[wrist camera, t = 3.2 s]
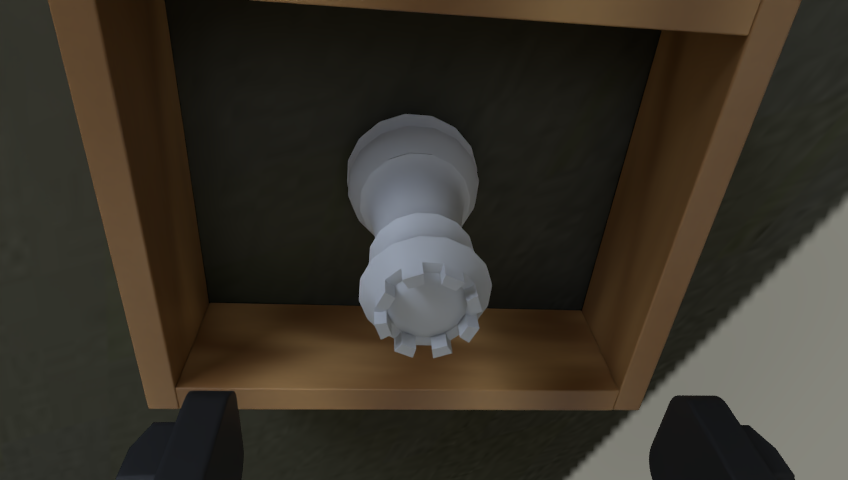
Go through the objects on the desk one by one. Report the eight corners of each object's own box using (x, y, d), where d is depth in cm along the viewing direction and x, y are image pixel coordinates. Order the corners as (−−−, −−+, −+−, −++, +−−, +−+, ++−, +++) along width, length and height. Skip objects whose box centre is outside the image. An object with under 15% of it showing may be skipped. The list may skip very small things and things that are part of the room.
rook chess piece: (477, 218, 21) (524, 376, 14) (357, 232, 21) (347, 396, 14) (472, 101, 19) (524, 224, 12) (336, 116, 19) (313, 248, 12)
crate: (186, 321, 23) (148, 409, 19) (115, -80, 16) (29, -68, 12) (598, 328, 25) (639, 410, 21) (710, -30, 17) (804, -5, 13)
